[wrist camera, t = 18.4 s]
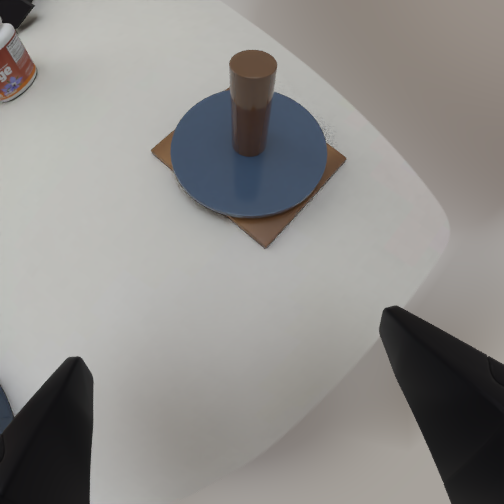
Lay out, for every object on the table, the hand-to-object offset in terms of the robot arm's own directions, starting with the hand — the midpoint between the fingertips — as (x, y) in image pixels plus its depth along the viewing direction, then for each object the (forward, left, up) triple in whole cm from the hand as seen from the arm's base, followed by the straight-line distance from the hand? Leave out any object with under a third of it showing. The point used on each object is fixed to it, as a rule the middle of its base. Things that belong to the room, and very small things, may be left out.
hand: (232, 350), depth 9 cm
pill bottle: (+39, -2, -13) cm, 41 cm away
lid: (+9, -11, -11) cm, 18 cm away
